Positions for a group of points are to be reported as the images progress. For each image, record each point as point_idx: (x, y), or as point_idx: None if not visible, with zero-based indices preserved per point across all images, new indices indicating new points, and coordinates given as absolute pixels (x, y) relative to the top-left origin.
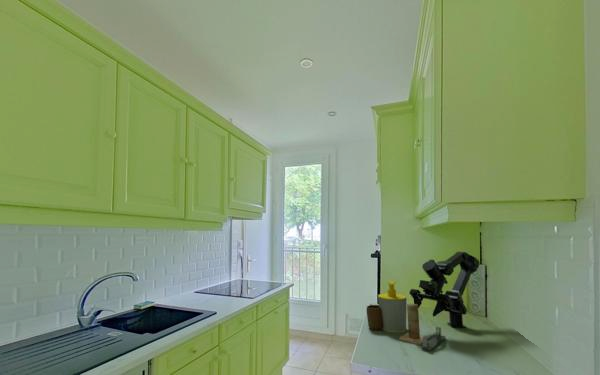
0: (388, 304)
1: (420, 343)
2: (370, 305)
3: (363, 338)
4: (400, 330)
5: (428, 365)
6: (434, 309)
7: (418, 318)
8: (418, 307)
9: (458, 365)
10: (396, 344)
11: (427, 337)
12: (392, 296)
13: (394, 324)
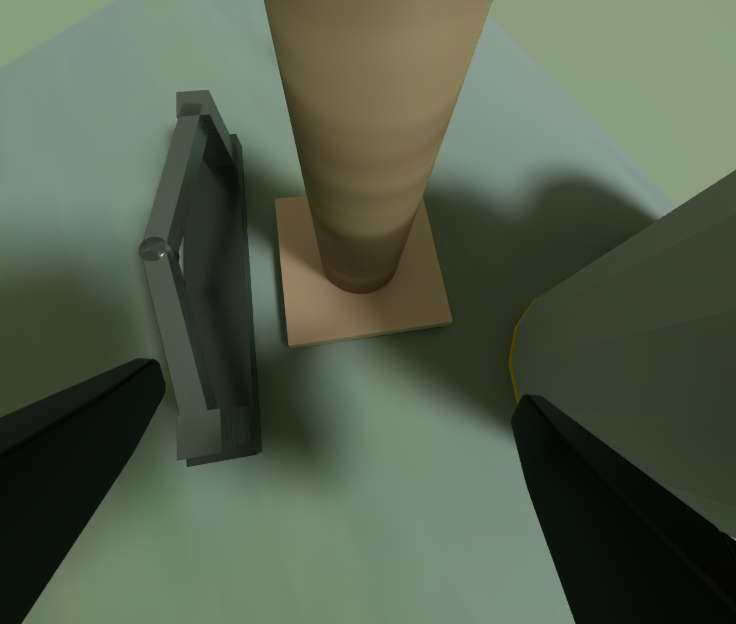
0: None
1: (281, 203)
2: None
3: (555, 88)
4: (520, 329)
5: (144, 20)
6: (33, 428)
7: (300, 164)
8: (569, 590)
9: (21, 96)
10: None
11: (177, 107)
12: None
13: (572, 276)
